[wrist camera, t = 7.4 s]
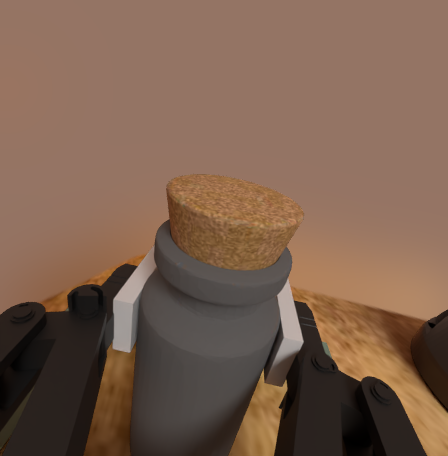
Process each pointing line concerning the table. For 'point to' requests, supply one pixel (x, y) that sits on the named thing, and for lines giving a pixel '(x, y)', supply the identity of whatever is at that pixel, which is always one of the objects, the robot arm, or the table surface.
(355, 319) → the table surface
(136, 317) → the robot arm
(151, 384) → the bottle
